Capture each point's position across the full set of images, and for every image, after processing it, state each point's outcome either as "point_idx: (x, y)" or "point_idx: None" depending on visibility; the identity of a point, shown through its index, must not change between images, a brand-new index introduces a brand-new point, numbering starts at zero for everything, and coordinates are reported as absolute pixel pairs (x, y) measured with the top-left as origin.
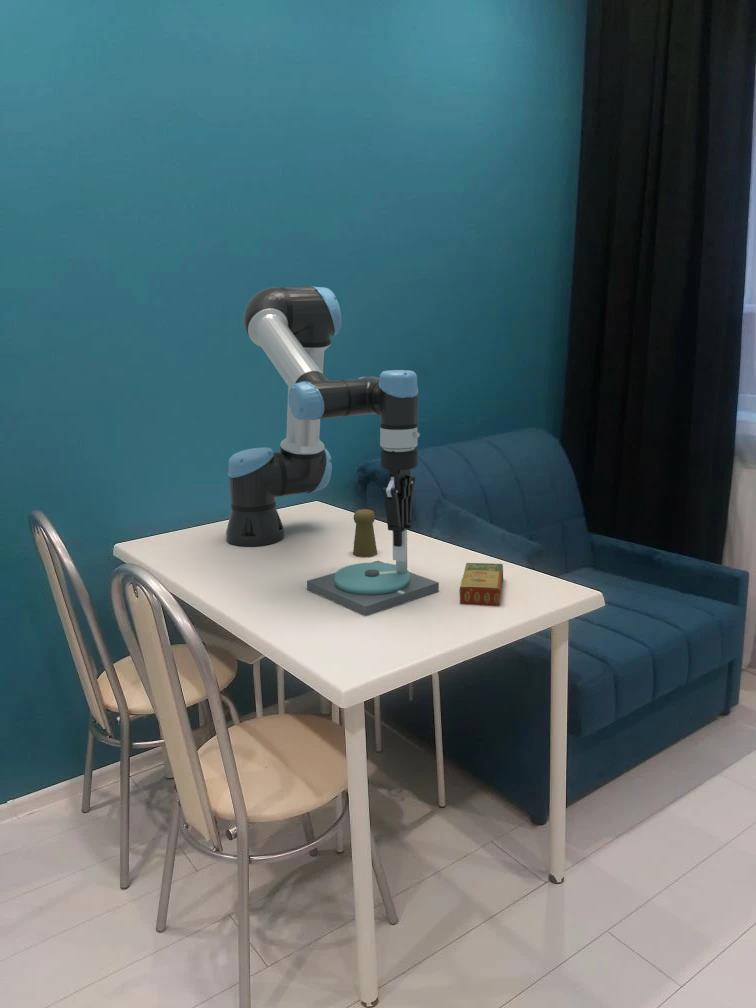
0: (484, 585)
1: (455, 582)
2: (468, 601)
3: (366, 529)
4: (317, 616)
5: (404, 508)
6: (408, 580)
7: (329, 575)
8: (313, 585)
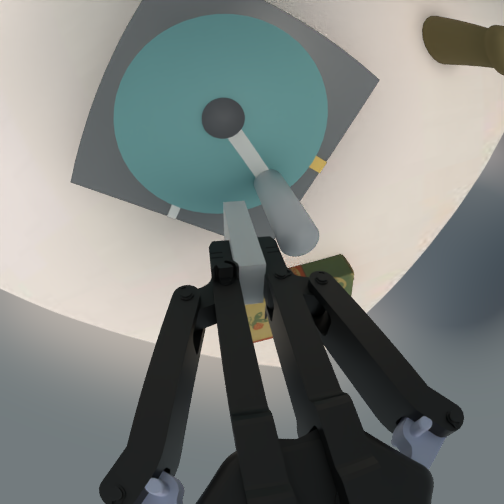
0: None
1: (317, 247)
2: None
3: (476, 51)
4: (36, 93)
5: (284, 369)
6: None
7: None
8: None
